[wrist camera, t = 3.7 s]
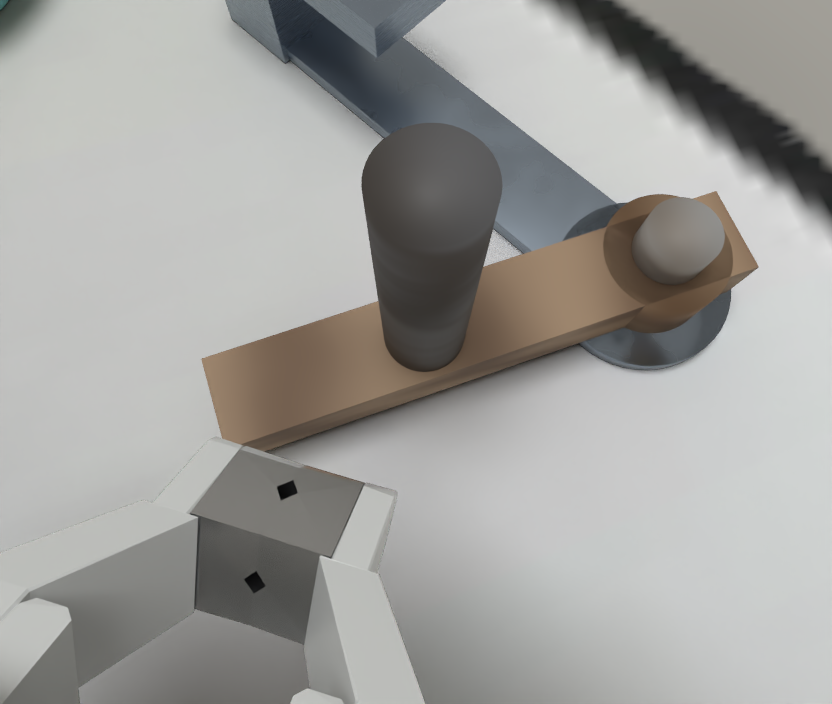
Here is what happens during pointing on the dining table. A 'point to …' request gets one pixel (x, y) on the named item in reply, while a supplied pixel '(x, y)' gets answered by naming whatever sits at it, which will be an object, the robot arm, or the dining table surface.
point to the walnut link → (468, 293)
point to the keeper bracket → (457, 105)
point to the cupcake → (3, 3)
